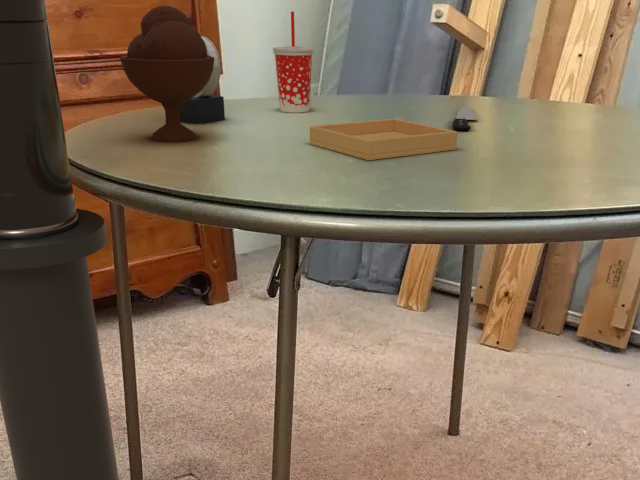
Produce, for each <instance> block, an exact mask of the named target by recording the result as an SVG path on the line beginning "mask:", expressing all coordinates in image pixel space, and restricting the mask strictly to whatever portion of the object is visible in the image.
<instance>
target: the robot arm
mask: <svg viewBox="0 0 640 480" xmlns="http://www.w3.org/2000/svg"><path fill="white" fill-rule="evenodd" d="M47 11H48V10H47V5H46V0H0V240H21V239H32V238H39V237H45V236H50V235H55V234H58V233H62V232H65V231H67V230H70V229H72V228H74V227H75V226H76V225H77V224H78V223H79V220H78V213H77V211H76V209H77V208H76V206H77V205H76V204H77V203H76V198H75V195H74V187H73V183H72V181H73V180H72V176H71V168H70V161H69V154H68V147H67V140H66V133H65V126H64V121H63V120H64V119H63V114H62V113H63V112H62V107H61V100H60V94H59V86H58V79H57V72H56V67H55V60H54V52H53V46H52V38H51V32H50V25H49V21H48V12H47Z"/></svg>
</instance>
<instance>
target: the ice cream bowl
mask: <svg viewBox="0 0 640 480" xmlns="http://www.w3.org/2000/svg"><path fill="white" fill-rule="evenodd" d="M140 30H141V31H140V32H141V33H140V34H137V35H136V36H135V37H134V38H133V39H132V40H131V41H130V42H129V44H128V48H127V50H126V51H127V53H126V54H125V55H119V61H120V64H121V66H122V71H123V72H124V74H125V75H126V77H127V79H128V81H129V83H131V84H132V85H133V86H134V87H135V88H136V89H137V90H138V91H139V92H141V93H142V94H144V95H145V96H146V97H148V98H149V99H151V100H153V101H155V102H157V103H160V104H161V105H162V108H163V109H164V113H165V114H164V115H165V124H164V125H162V126H160V127H159V128H158V129H156V130H155V131H154V132H152V135H151V139H152V140H153V141H155V142H157V141H158V142H163V143H165V142H166V143H172V142H173V143H179V142H188V141H193V140H196V139H198V137H197V134H196V133H195V131H193V130H191V129H190V128H189V127H187V126H185V125H183V124H181V123H182V122H180V115H179V109H180V106H181V103H183V102H185V101H187V100H189V99H191V98H193V97H194V96H195V95H196V94H198V93H200V92H201V90H202V89H203V88H204V87H205V85H206V84H207V83H208V82H209V80H210V77H211V75H212V72H213V66H214V57H212V56H208V55H207V48H206V44H205V42H204V40H203V39H202V37H201V36H202V35H201V34H200V32H199V31H198V30H196V29H195V28H194V27H193V24H192V21H191V19H190V18H189V17H188V16H187V14H186V13H185V12H183V11H182V10H180V9H178V8H176V7H173V6H170V5H159V6H156V7H153V8H150V10H148V11H147V13H146V14H144V15H143V17H142V18H141V20H140Z"/></svg>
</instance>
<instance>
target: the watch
mask: <svg viewBox="0 0 640 480" xmlns="http://www.w3.org/2000/svg"><path fill="white" fill-rule="evenodd" d="M200 36H201V37H202V39H203V40H204V42H205V44H206V48H207V55H208V56H212V57H214V66H213V72H212V75H211V77H210V80H209V82H208V83H207V84H206V85H205V87H204V88H203V89H202V90H201V91H200V92H199V93H198V94H196V95H195V96H194V97H193V98H191V99H189V100H187V101H185V102H183V103H181V106H180V109H179V115H180V123H189V124H195V125H198V124H203V123H204V124H205V123H211V122H219V121H223V120H225V119H226V115H225V99H224V96H223V95H215V92H216V90H217V88H218V86H219V83H220V78H221V75H222V67H221V58H220V55H219V51H218V50H217V47H216V46H215V44H214V42H212V41H211V40H210V38H208V37H206V36H204V35H200Z"/></svg>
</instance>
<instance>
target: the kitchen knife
mask: <svg viewBox="0 0 640 480" xmlns="http://www.w3.org/2000/svg"><path fill="white" fill-rule="evenodd" d="M468 120H473V121H476V120H477V121H478V116H477V114H476V112H475V111H474V110H473V109H472V108H470V107H468V106H463V107H460V108H459V110H458V112H457V114H456V116H455V119H454V120H453V121H452V129H454V130H455V131H470V130H471V128H472V127H471V126H470V125H469V123H468Z"/></svg>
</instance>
